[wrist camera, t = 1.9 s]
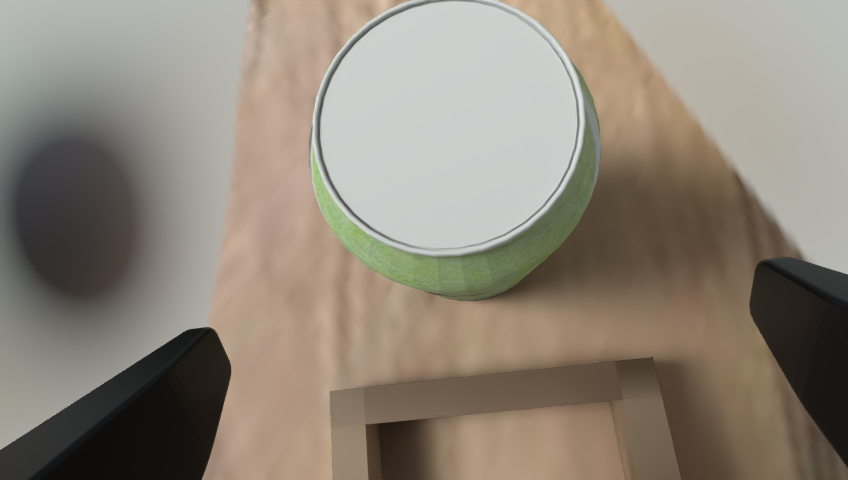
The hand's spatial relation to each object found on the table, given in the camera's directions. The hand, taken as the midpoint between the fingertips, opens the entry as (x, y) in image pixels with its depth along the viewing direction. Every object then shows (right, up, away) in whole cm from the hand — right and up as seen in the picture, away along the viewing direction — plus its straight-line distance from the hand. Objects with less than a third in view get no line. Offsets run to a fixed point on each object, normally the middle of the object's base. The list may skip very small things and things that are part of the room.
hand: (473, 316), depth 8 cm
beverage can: (+1, +1, +12) cm, 12 cm away
